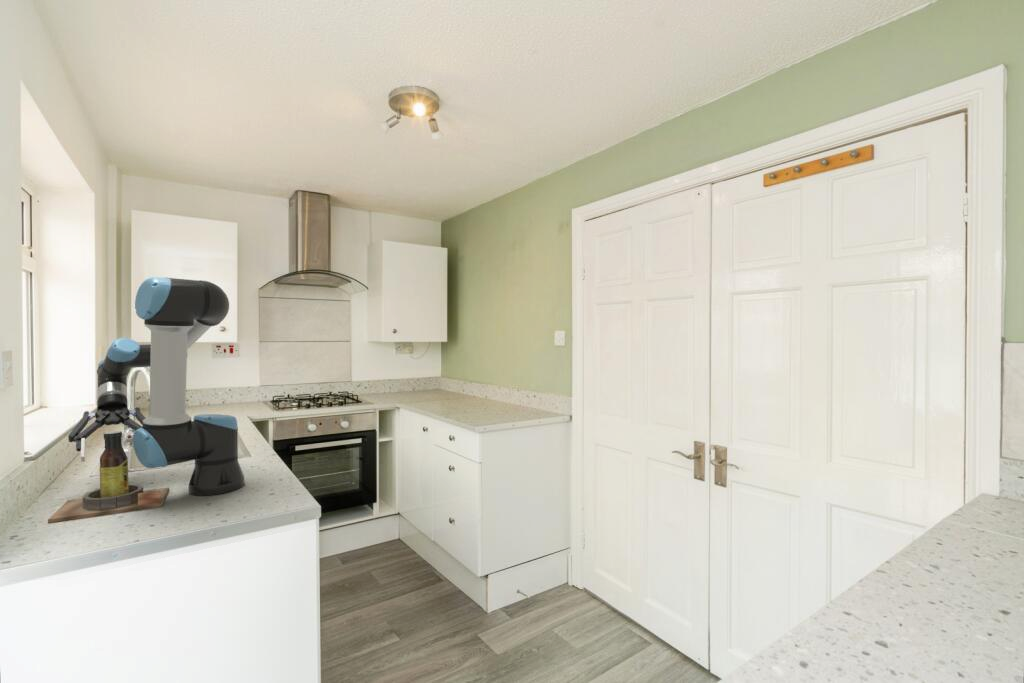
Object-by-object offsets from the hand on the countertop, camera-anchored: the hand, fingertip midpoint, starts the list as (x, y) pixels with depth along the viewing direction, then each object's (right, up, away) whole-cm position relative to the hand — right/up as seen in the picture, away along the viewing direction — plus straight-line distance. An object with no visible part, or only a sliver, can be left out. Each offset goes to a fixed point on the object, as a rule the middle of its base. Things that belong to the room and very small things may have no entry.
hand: (113, 455), depth 146 cm
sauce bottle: (+6, -12, -7) cm, 15 cm away
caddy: (+6, -13, -7) cm, 16 cm away
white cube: (-20, -12, +27) cm, 36 cm away
